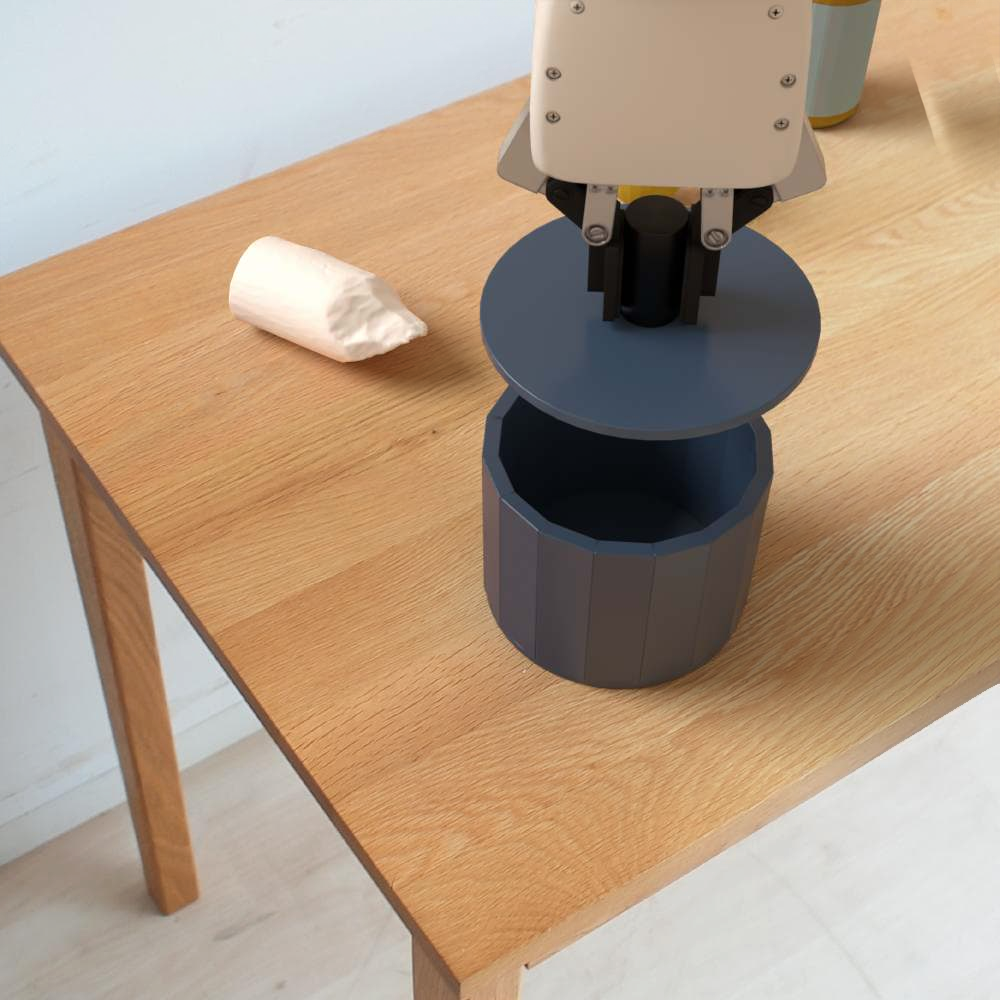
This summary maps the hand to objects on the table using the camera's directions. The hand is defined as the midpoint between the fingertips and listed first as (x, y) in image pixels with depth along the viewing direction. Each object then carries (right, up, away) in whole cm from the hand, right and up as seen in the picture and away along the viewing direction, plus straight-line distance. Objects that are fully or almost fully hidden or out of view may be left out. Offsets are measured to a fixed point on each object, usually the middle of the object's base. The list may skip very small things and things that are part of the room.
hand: (649, 298), depth 62 cm
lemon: (+3, +11, +35) cm, 37 cm away
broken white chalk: (-16, +1, +27) cm, 31 cm away
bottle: (+16, +20, +43) cm, 50 cm away
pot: (0, -13, +14) cm, 19 cm away
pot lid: (0, -1, +1) cm, 1 cm away
